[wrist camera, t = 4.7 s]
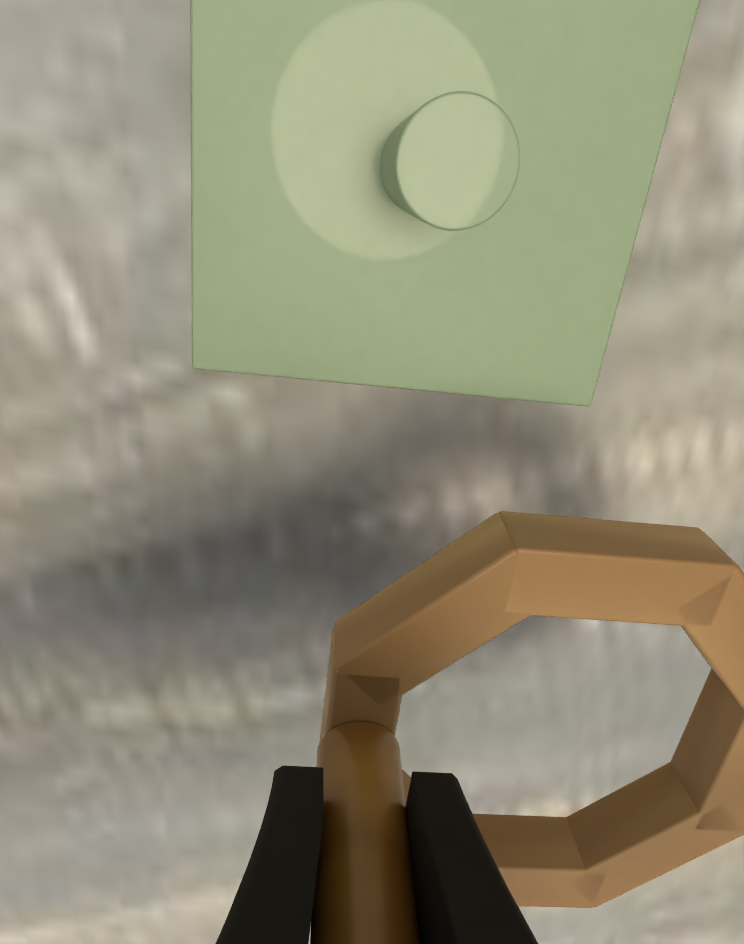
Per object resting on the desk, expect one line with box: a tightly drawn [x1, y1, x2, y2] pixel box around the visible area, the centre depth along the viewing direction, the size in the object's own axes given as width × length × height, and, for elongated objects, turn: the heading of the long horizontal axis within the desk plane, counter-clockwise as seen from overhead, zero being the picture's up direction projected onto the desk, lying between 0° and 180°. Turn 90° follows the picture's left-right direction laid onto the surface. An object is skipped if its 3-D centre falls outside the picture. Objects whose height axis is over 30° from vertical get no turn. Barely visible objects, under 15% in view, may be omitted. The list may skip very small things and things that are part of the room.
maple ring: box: [310, 511, 744, 944], centre depth 10 cm, size 8×8×6 cm
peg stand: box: [191, 0, 700, 406], centre depth 12 cm, size 10×10×5 cm
